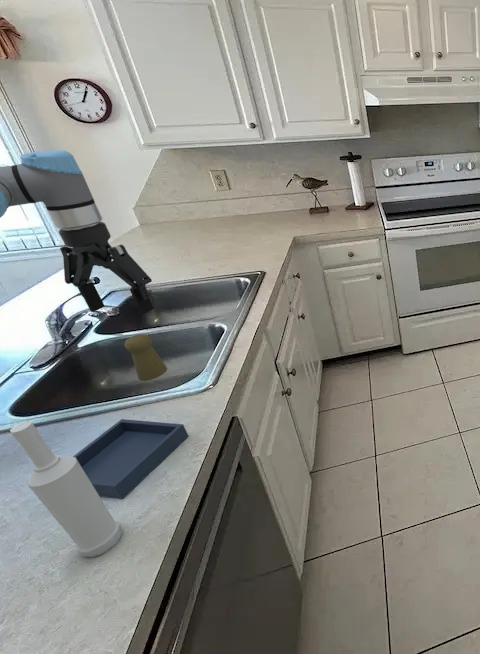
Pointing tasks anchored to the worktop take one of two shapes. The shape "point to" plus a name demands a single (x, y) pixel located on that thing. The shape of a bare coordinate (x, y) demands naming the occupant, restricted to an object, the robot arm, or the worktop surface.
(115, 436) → the tray
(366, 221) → the worktop surface
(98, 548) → the bottle
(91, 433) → the worktop surface
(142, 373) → the cork
